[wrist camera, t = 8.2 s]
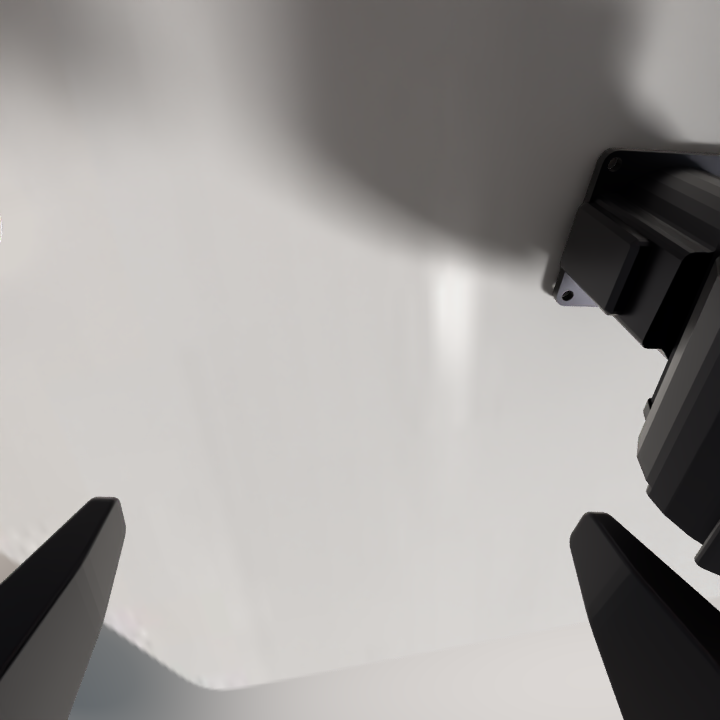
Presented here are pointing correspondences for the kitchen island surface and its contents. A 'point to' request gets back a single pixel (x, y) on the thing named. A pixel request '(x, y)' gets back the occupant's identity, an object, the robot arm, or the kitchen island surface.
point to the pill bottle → (0, 228)
